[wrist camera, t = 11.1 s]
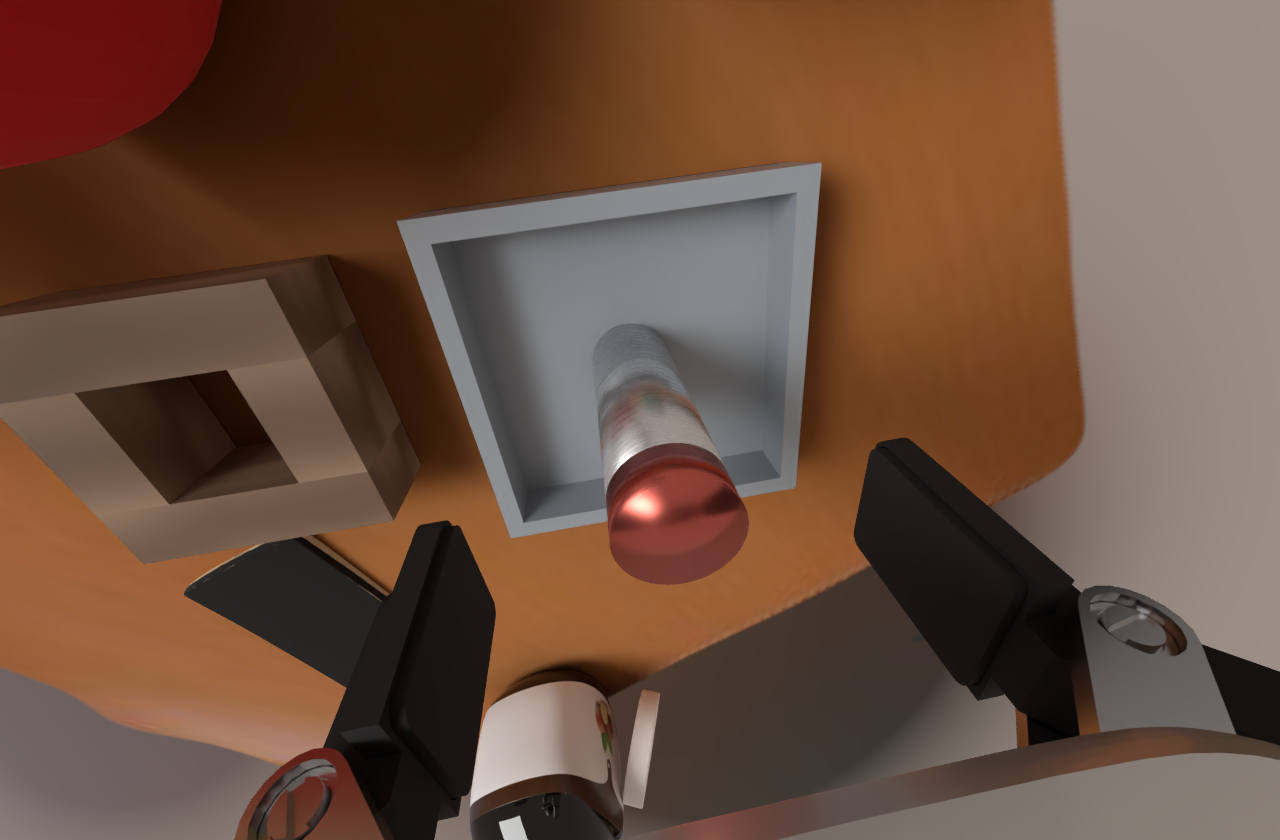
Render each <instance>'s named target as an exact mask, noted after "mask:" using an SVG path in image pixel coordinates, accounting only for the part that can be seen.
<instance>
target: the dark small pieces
mask: <svg viewBox="0 0 1280 840" xmlns="http://www.w3.org/2000/svg"><path fill="white" fill-rule="evenodd" d="M184 595H185V596H186V597H188V598H190V599H192V600H194V601H195V602H197V603H199V604H201V605H203V606H205V607H207V608H208V609H210V610H212V611H214V612H216V613H218V614H220V615H221V616H223V617H225V618H227V619H229V620H231V621H233V622H234V623H236V624H238V625H240V626H242V627H243V628H245V629H247V630H249V631H251V632H252V633H254V634H256V635H258V636H259V637H261V638H263V639H264V640H266V641H268V642H270V643H271V644H273V645H275V646H277V647H278V648H280V649H282V650H284V651H285V652H287V653H289V654H290V655H292V656H294V657H296V658H297V659H299V660H301V661H302V662H304V663H306V664H308V665H309V666H311V667H313V668H314V669H316V670H318V671H319V672H321V673H323V674H324V675H326V676H328V677H329V678H331V679H333V680H335V681H336V682H338V683H340V684H341V685H343V686H345V687H346V688H347V686H348V684H349V681H350V679H351V676H352V674H353V671H354V669H355V666H356V664H357V661H358V658H359V656H360V653H361V651H362V648H363V646H364V643H365V641H366V638H367V636H368V633H369V631H370V628H371V626H372V623H373V621H374V618H375V616H376V613H377V611H378V608H379V606H380V604H381V602H382V600H383V599H384V598H385V597H386V596H387V595H390V594H389V593H388V592H386V591H385V590H384V589H382V588H381V587H380V586H378V585H377V584H376V583H374V582H373V581H372V580H370V579H369V578H368V577H367V576H365V575H364V574H363V573H361V572H360V571H359V570H357V569H356V568H355V567H353V566H352V565H351V564H349V563H348V562H347V561H345V560H344V559H343V558H341V557H340V556H339V555H337V554H336V553H335V552H334V551H332V550H331V549H330V548H328V547H327V546H326V545H324V544H323V543H322V542H320V541H319V540H317V539H316V538H315V537H313V536H312V535H310V536H304V537H298V538H292V539H287V540H281V541H275V542H269V543H264V544H258V545H255V546H253V547H251V548H250V549H248V550H246V551H244V552H242V553H240V554H238V555H236V556H235V557H233V558H231V559H229V560H227V561H225V562H223V563H222V564H220V565H218V566H216V567H214V568H213V569H211V570H209V571H208V572H206V573H205V574H203V575H202V576H200V577H199V578H197V579H196V580H194V581H193V582H192V583H191V584H190V585H189V586H188V587H187V589H186V591H185V592H184Z"/></svg>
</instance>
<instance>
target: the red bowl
mask: <svg viewBox="0 0 1280 840" xmlns="http://www.w3.org/2000/svg"><path fill="white" fill-rule="evenodd" d="M221 4H222V0H0V169H6V168H11V167H16V166H21V165H25V164H30V163H35V162H40V161H44V160H49V159H54V158H59V157H63V156H68V155H72V154H76V153H81V152H84V151H87V150H91V149H94V148H97V147H100V146H102V145H104V144H107V143H109V142H111V141H113V140H115V139H117V138H119V137H121V136H123V135H125V134H127V133H128V132H130V131H132V130H134V129H136V128H138V127H140V126H142V125H143V124H145V123H147V122H149V121H151V120H153V119H154V118H156V117H157V116H159V115H160V114H161V113H162V112H163V111H164V110H165V109H166V108H167V107H168V106H169V105H170V104H171V103H172V102H173V101H174V100H175V99H176V98H177V97H178V96H179V95H180V94H181V93H182V92H183V91H184V90H185V89H186V88H187V87H188V86H189V85H190V84H191V83H192V81H193V80H194V79H195V77H196V75H197V73H198V71H199V69H200V67H201V65H202V63H203V61H204V60H205V58H206V56H207V54H208V52H209V50H210V48H211V46H212V43H213V40H214V36H215V31H216V27H217V22H218V18H219V13H220V9H221Z"/></svg>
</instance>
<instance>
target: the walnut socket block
mask: <svg viewBox="0 0 1280 840" xmlns="http://www.w3.org/2000/svg"><path fill="white" fill-rule="evenodd" d="M222 370H227V371H228V373H229V374H230V376H231V378H232V379H233V381H234V382H235V384H236V385H237V387H238V389H239V390H240V392H241V393H242V395H243V396H244V398H245V399H246V401H247V403H248V404H249V406H250V407H251V409H252V410H253V412H254V414H255V415H256V417H257V418H258V420H259V421H260V423H261V425H262V426H263V428H264V429H265V431H266V432H267V434H268V436H269V437H270V439H271V440H272V441H269V442H263V443H257V444H251V445H245V446H238V447H236V446H235V444H234V443H233V441H232V440H231V439H230V437H229V436H228V434H227V433H226V431H225V430H224V428H223V427H222V426H221V424H220V423H219V421H218V420H217V418H216V417H215V415H214V414H213V413H212V411H211V410H210V408H209V407H208V405H207V404H206V402H205V401H204V400H203V398H202V397H201V395H200V394H199V392H198V391H197V389H196V388H195V387H194V385H193V384H192V382H191V381H190V379H189V378H188V377H187V376H189V375H196V374H202V373H209V372H216V371H222ZM0 418H1V419H2V420H3V421H4V422H5V423H6V424H7V425H8V426H9V427H10V428H11V429H12V430H13V431H14V432H15V433H16V434H17V435H18V436H19V437H20V438H21V439H22V440H23V441H24V442H25V443H26V444H27V445H28V446H29V447H30V448H31V449H32V450H33V451H34V452H35V453H36V454H37V455H38V456H39V457H40V458H41V459H42V460H43V462H44V463H45V464H46V465H47V466H48V467H49V468H50V469H51V470H52V471H53V472H54V473H55V474H56V475H57V476H58V477H59V478H60V479H61V480H62V481H63V482H64V483H65V484H66V485H67V486H68V487H69V488H70V489H71V490H72V491H73V492H74V493H75V494H76V495H77V496H78V497H79V498H80V499H81V500H82V501H83V502H84V503H85V504H86V506H87V507H88V508H89V509H90V510H91V511H92V512H93V513H94V514H95V515H96V516H97V517H98V518H99V519H100V520H101V521H102V522H103V523H104V524H105V525H106V526H107V527H108V528H109V529H110V530H111V531H112V532H113V533H114V534H115V535H116V536H117V537H118V538H119V539H120V540H121V541H122V542H123V543H124V544H125V545H126V546H127V547H128V548H129V549H130V551H131V552H132V553H133V554H134V555H135V556H136V557H137V558H138V559H139V560H140V561H141V562H142V563H143V564H148V563H154V562H159V561H165V560H171V559H177V558H182V557H188V556H194V555H200V554H206V553H211V552H217V551H223V550H229V549H235V548H240V547H246V546H252V545H258V544H264V543H269V542H275V541H281V540H287V539H292V538H298V537H304V536H310V535H316V534H321V533H327V532H333V531H339V530H345V529H350V528H356V527H362V526H368V525H373V524H379V523H385V522H391V521H394V519H395V517H396V515H397V513H398V511H399V509H400V507H401V505H402V503H403V501H404V499H405V497H406V495H407V493H408V491H409V489H410V487H411V485H412V483H413V481H414V479H415V477H416V475H417V473H418V470H419V468H420V466H421V464H420V462H419V459H418V457H417V455H416V453H415V451H414V448H413V446H412V444H411V442H410V439H409V437H408V435H407V433H406V431H405V428H404V426H403V424H402V422H401V419H400V417H399V415H398V413H397V411H396V408H395V406H394V404H393V402H392V399H391V397H390V395H389V393H388V391H387V388H386V386H385V384H384V382H383V379H382V377H381V375H380V373H379V371H378V368H377V366H376V364H375V362H374V359H373V357H372V355H371V353H370V351H369V348H368V346H367V344H366V342H365V339H364V337H363V335H362V333H361V331H360V328H359V326H358V324H357V322H356V320H355V317H354V315H353V313H352V311H351V308H350V306H349V304H348V302H347V300H346V297H345V295H344V293H343V291H342V288H341V286H340V284H339V282H338V280H337V277H336V275H335V273H334V271H333V268H332V266H331V264H330V262H329V260H328V257H327V255H321V256H314V257H307V258H300V259H293V260H285V261H278V262H271V263H264V264H257V265H250V266H243V267H236V268H229V269H221V270H214V271H207V272H200V273H193V274H186V275H179V276H172V277H165V278H157V279H150V280H143V281H136V282H129V283H122V284H115V285H108V286H101V287H93V288H86V289H79V290H72V291H65V292H58V293H51V294H46V295H42V296H38V297H35V298H31V299H27V300H23V301H19V302H15V303H12V304H8V305H4V306H0Z"/></svg>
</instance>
